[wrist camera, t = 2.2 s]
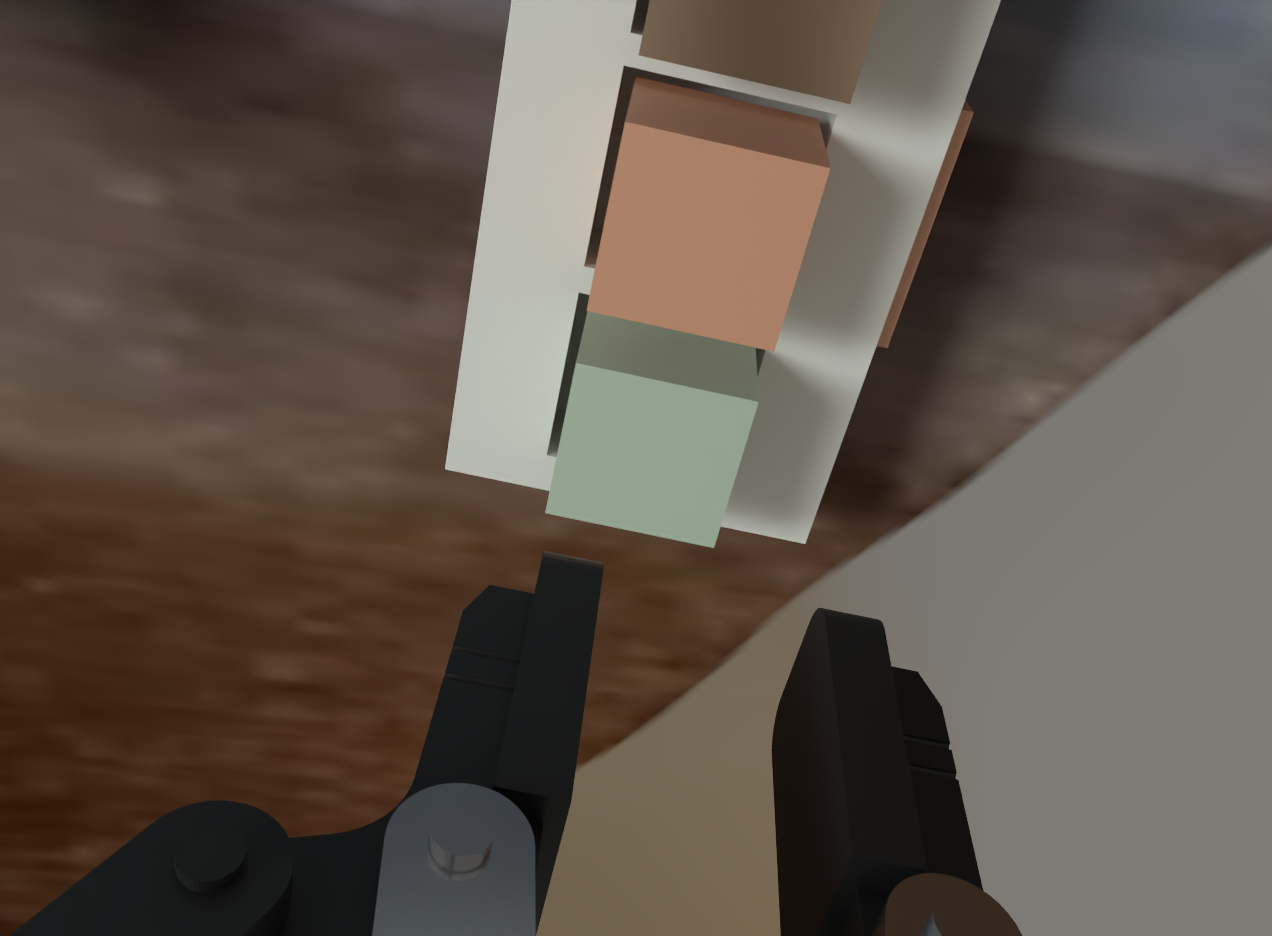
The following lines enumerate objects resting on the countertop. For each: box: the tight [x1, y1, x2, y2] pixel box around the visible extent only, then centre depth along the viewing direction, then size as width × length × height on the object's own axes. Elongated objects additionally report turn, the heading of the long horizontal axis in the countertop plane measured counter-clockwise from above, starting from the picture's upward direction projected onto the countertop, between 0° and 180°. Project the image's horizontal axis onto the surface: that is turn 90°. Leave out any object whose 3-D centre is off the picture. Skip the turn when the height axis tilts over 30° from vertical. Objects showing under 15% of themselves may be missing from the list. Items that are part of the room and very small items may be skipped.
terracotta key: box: [586, 77, 830, 352], centre depth 26 cm, size 4×4×4 cm
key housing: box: [445, 0, 1001, 544], centre depth 28 cm, size 10×18×4 cm, turn 168°
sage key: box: [545, 311, 759, 548], centre depth 29 cm, size 4×4×4 cm
